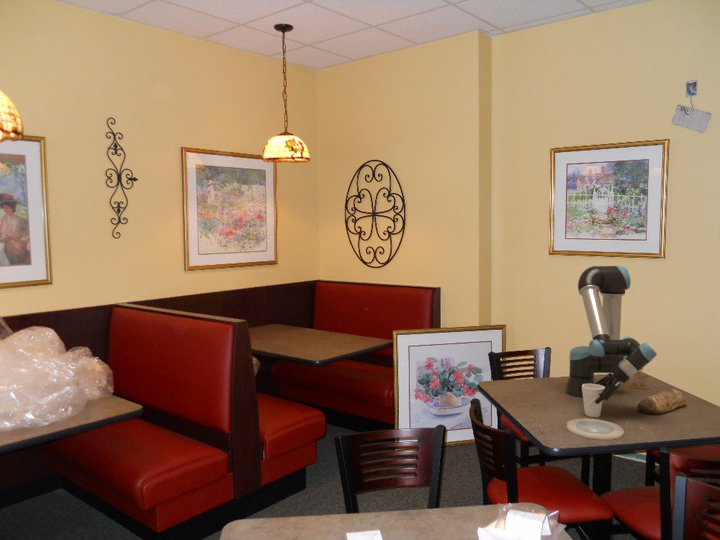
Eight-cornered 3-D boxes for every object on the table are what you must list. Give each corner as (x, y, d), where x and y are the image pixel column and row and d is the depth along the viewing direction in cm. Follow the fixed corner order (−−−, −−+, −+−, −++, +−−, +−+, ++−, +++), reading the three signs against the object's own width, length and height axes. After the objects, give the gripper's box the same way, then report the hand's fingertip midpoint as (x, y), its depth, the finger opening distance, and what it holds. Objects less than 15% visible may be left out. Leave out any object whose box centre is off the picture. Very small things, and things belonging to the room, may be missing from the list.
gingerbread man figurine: (648, 388, 300) (649, 365, 299) (646, 390, 297) (647, 367, 296) (630, 385, 306) (631, 363, 305) (628, 387, 303) (629, 364, 302)
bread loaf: (667, 424, 251) (669, 403, 250) (626, 412, 264) (628, 392, 263) (695, 409, 274) (697, 389, 273) (656, 399, 287) (658, 380, 286)
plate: (555, 426, 246) (555, 423, 246) (591, 418, 256) (591, 415, 256) (597, 443, 226) (597, 440, 226) (635, 433, 236) (635, 430, 236)
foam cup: (603, 412, 263) (603, 384, 262) (604, 419, 254) (605, 390, 253) (580, 410, 266) (581, 382, 265) (581, 416, 258) (582, 388, 257)
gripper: (637, 385, 244) (598, 417, 248) (624, 370, 268) (588, 400, 272) (624, 372, 244) (585, 405, 249) (612, 358, 268) (577, 388, 273)
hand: (587, 402), depth 260 cm, fingers open, 12 cm apart
